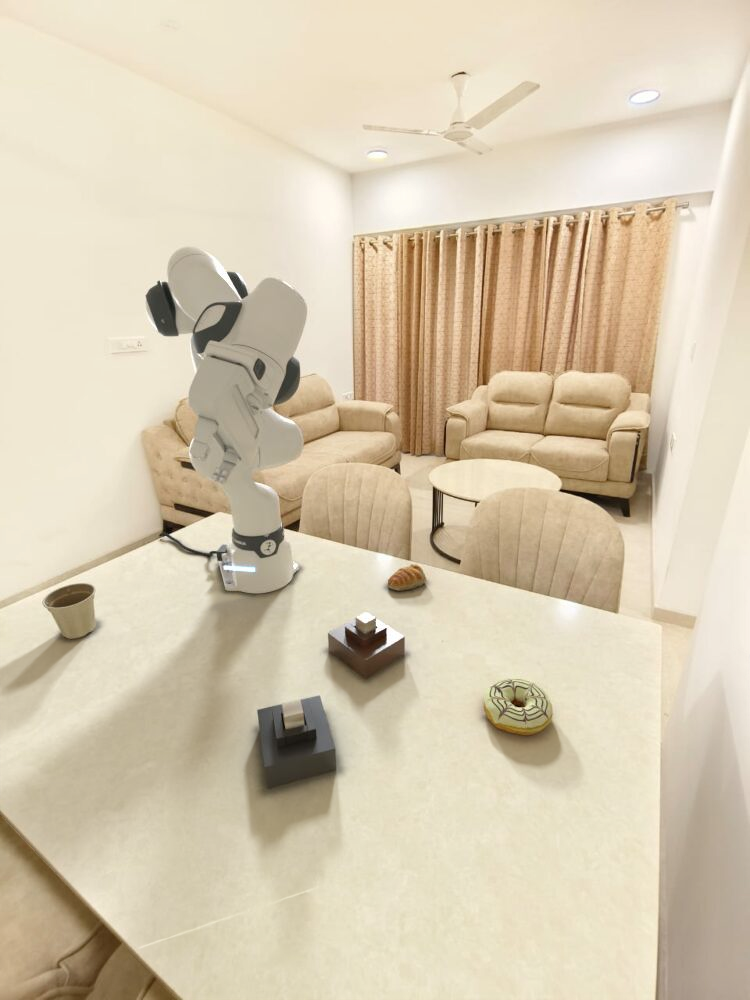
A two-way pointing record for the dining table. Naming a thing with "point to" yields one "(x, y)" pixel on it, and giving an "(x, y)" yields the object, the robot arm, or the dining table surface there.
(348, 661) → the walnut key block
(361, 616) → the back key
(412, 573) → the pastry
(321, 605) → the dining table surface
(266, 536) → the robot arm
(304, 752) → the black key block
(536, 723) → the decorated donut
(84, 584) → the flower pot
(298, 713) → the front key
